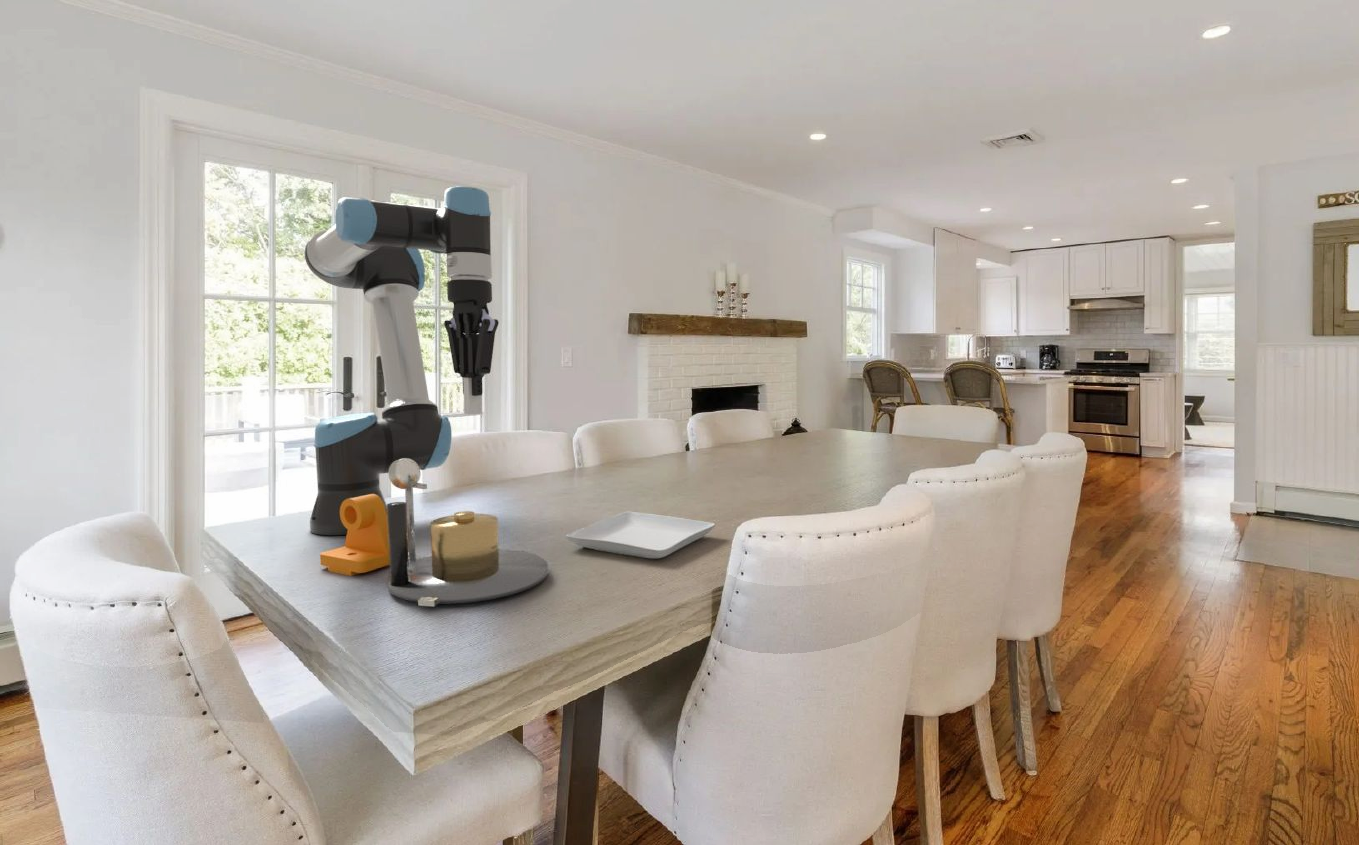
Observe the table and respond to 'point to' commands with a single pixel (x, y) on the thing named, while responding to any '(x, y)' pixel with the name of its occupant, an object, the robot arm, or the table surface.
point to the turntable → (428, 591)
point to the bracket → (361, 537)
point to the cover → (464, 546)
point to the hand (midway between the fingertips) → (473, 413)
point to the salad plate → (640, 534)
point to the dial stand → (407, 495)
